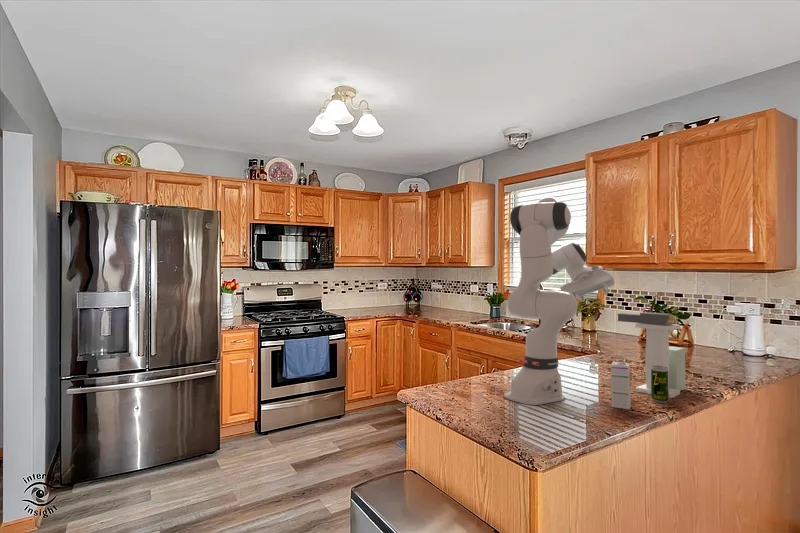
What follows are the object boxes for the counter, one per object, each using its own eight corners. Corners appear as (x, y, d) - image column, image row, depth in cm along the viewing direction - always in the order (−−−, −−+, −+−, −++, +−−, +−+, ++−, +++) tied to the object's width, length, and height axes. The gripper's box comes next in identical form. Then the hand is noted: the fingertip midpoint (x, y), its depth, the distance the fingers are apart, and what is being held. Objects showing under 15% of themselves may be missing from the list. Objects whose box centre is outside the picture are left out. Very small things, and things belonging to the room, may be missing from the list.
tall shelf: (670, 398, 157) (670, 326, 157) (635, 391, 166) (635, 323, 167) (680, 394, 163) (679, 324, 163) (645, 387, 172) (645, 321, 172)
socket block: (676, 392, 164) (676, 350, 165) (645, 386, 173) (645, 346, 173) (685, 388, 170) (685, 348, 170) (655, 383, 179) (654, 344, 179)
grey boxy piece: (616, 321, 174) (616, 311, 174) (623, 320, 178) (623, 310, 178) (671, 326, 158) (671, 315, 158) (678, 325, 162) (678, 314, 162)
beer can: (650, 398, 158) (650, 364, 158) (667, 399, 155) (667, 366, 155) (651, 402, 153) (651, 367, 153) (669, 404, 150) (669, 369, 151)
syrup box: (630, 409, 144) (630, 366, 144) (610, 407, 147) (610, 364, 147) (630, 405, 149) (630, 362, 149) (611, 402, 152) (611, 361, 152)
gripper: (557, 280, 190) (567, 298, 178) (604, 264, 185) (618, 282, 173) (560, 291, 193) (570, 310, 181) (607, 275, 188) (621, 294, 176)
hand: (594, 296), depth 177 cm, fingers open, 8 cm apart
